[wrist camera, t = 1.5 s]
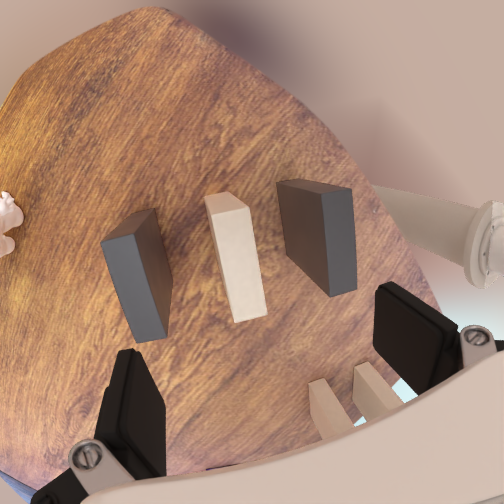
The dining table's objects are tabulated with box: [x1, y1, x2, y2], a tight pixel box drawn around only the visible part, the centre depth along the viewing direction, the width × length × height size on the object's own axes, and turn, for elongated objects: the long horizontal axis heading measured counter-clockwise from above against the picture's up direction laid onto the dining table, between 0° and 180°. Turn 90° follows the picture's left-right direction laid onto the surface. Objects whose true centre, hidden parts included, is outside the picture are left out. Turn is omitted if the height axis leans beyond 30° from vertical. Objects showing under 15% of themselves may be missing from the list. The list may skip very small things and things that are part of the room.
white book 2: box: [308, 378, 355, 440], centre depth 35 cm, size 2×8×11 cm, turn 9°
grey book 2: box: [100, 208, 173, 343], centre depth 24 cm, size 2×8×11 cm, turn 9°
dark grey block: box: [276, 179, 357, 298], centre depth 26 cm, size 2×8×11 cm, turn 9°
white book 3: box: [352, 361, 404, 422], centre depth 36 cm, size 2×8×11 cm, turn 9°
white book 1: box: [204, 191, 268, 323], centre depth 25 cm, size 2×8×11 cm, turn 9°
